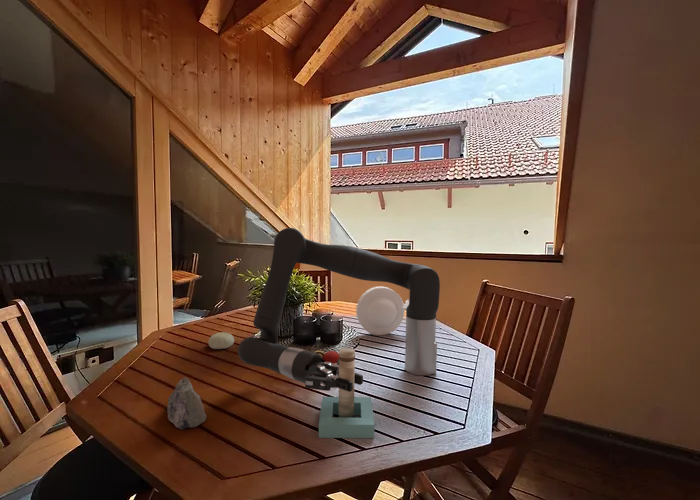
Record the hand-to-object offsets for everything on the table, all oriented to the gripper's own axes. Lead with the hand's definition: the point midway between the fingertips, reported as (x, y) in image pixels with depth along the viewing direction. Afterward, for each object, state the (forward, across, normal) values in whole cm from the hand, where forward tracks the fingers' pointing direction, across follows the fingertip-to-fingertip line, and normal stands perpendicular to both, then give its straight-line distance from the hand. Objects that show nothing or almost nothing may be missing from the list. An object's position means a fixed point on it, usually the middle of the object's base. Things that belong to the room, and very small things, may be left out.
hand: (356, 383), depth 81 cm
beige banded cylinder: (-3, 0, +9) cm, 9 cm away
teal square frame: (-3, 0, +10) cm, 10 cm away
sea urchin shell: (-70, +14, +11) cm, 72 cm away
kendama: (-29, +18, +11) cm, 35 cm away
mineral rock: (-35, -20, +11) cm, 42 cm away
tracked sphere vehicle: (-24, +67, +10) cm, 72 cm away
